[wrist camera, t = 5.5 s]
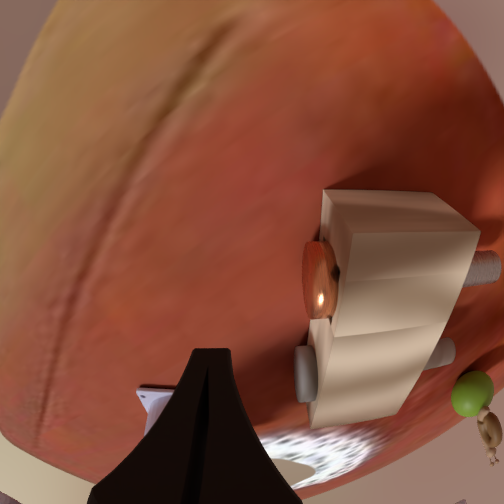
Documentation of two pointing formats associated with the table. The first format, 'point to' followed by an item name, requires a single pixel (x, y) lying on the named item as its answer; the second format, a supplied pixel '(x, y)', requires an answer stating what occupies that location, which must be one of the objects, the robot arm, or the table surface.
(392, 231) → the beige block with pegs
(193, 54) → the table surface
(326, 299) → the lynch pin
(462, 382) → the snail figurine
